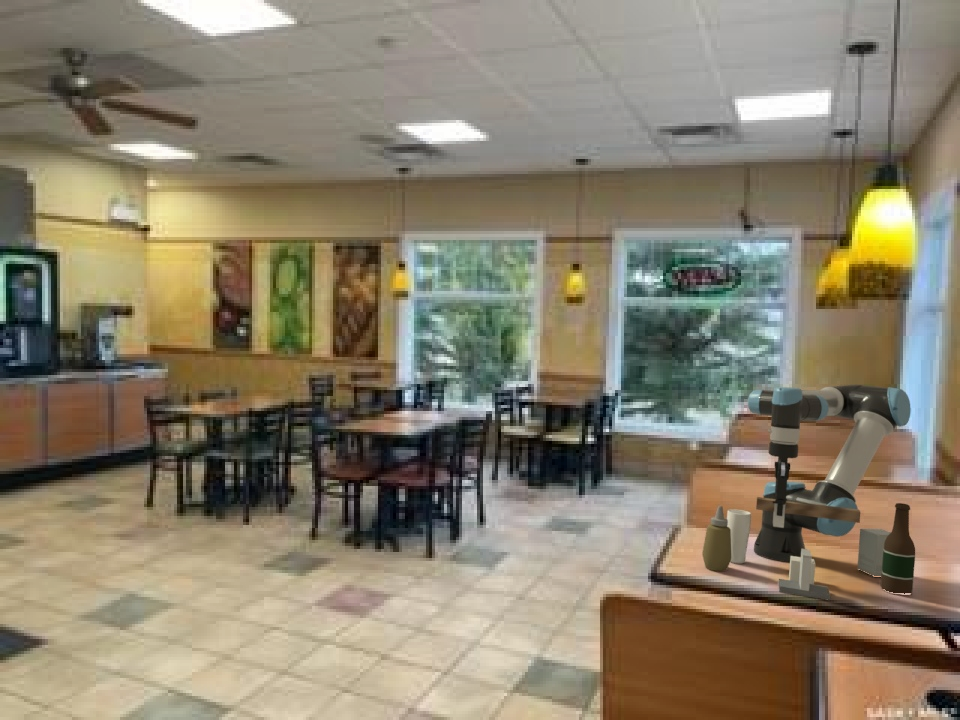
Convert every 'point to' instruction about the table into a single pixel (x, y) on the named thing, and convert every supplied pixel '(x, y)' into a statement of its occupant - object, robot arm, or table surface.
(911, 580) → the beer bottle
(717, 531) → the squeeze bottle
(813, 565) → the block
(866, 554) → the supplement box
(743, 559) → the drinking glass
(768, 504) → the walnut bar
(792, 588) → the ridge stand
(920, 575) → the table surface
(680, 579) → the table surface
